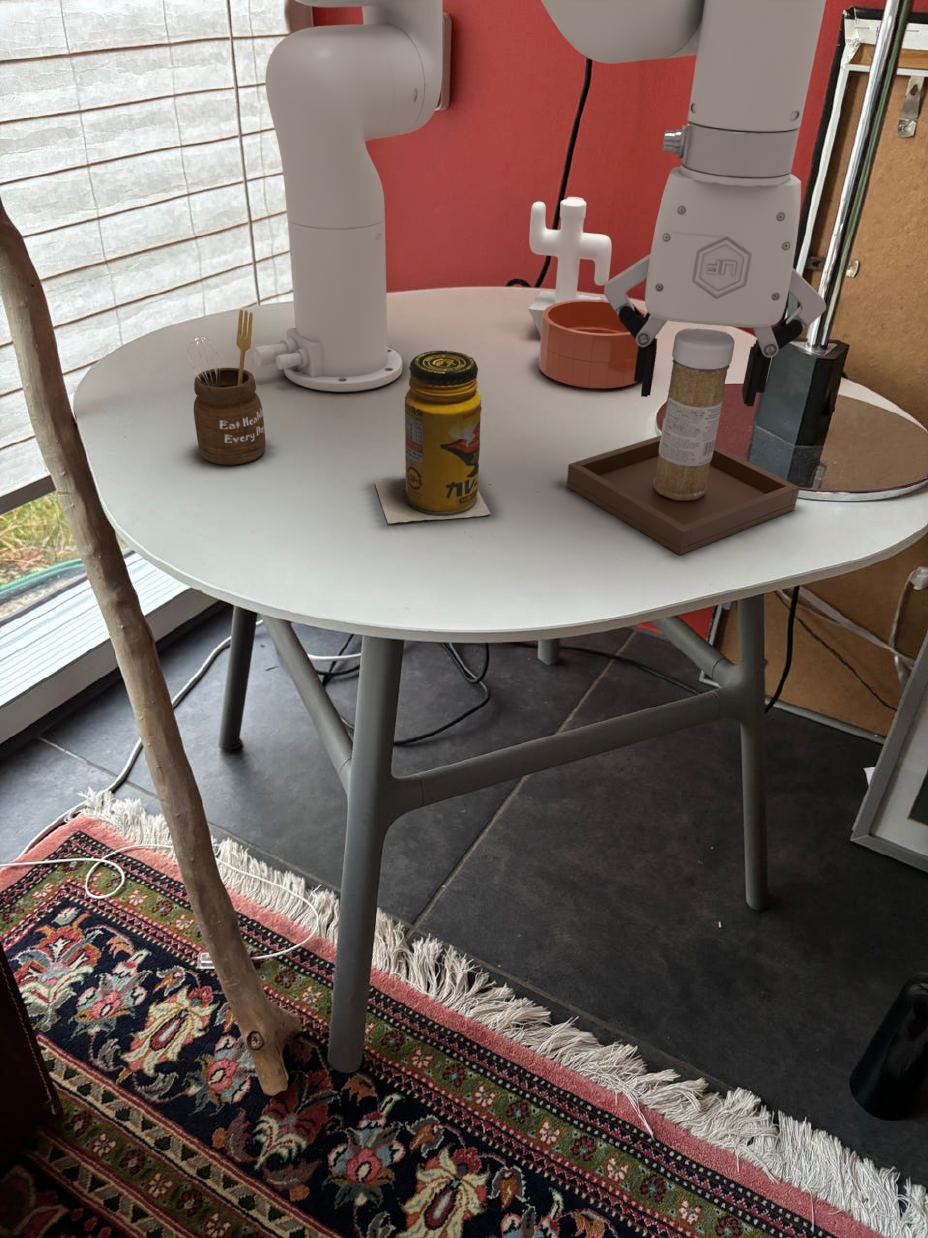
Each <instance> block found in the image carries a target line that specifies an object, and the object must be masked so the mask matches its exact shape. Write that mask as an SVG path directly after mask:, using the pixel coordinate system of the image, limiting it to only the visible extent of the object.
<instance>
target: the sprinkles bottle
mask: <svg viewBox="0 0 928 1238" xmlns="http://www.w3.org/2000/svg"><path fill="white" fill-rule="evenodd" d="M735 343H736V342H735V339H734V337H733V336H732V335H731V334H730V333H728V332H726V331H723V330H720V329H717V328H712V327H701V326H695V327H687V328H683V329H681V330H679V331H677V332H676V333H675V336H674V340H673V347H672V353H671V356H672V369H671V373H670V374H671V375H670V383H669V387H668V392H667V393H668V394H667V398H666V404H665V405H666V406H665V411H664V416H663V420H662V427H661V433H660V434H661V435H660V436H661V439H660V445H659V458H658V464H657V470H656V477H655V479H654V481H653V486H654V489H655V490H656V491H657V492H658V493H659V494H661V495H662V496H664V497H667V498H669V499H672V500H677V501H691V500H696V499H699V498H701V497H702V496H703V495H704V494H705V493H706V490H707V485H706V482H707V477H708V472H709V466H710V461H711V459H712V455H713V450H714V445H715V444H716V439H717V434H718V429H719V424H720V418H721V413H722V409H723V408H722V407H723V403H724V400H723V398H724V392H725V386H726V379H727V376H728V375H727V374H728V370H729V369H730V367H731V363H732V361H733V355H734V350H735ZM715 446H716V445H715Z"/></svg>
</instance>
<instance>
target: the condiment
mask: <svg viewBox="0 0 928 1238" xmlns="http://www.w3.org/2000/svg"><path fill="white" fill-rule="evenodd" d="M408 368H409V369H408V370H409V378H408V379H409V380H408V386H409V389H408V390H407V391H406V394H405V396H404V453H405V456H404V458H405V461H404V463H405V467H404V468H405V478H404V477H403V478H382V479H374V480H373V481H374V484H375V488H376V490H377V494H378V498H379V501H380V504H381V508H382V510H383V513H384V517H385V518H386V522H387V524H396V523H408V522H413V521H414V522H420V521H425V520H427V521H431V520H451V519H462V518H473V517H482V516H489V515H491V514H492V513H491V512H490V510H489V508H488V506H487V503H486V502H485V500H484V499H483V497H482V495H481V493H480V491H479V473H480V449H481V447H480V446H481V416H482V415H481V413H482V409H483V407H482V398H481V395H480V392H479V391H478V390H477V389H478V386H479V383H478V372H479V367H478V365H477V362H476V360H475V359H474V357H472V356H469V355H468V354H465V353H462V352H457V351H454V350H431V351H425V352H422V353H420V354H418V355H417V356H416V355H415V357H413V359H412V360H411V361H410V363H409V366H408Z"/></svg>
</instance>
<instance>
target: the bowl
mask: <svg viewBox="0 0 928 1238" xmlns="http://www.w3.org/2000/svg"><path fill="white" fill-rule="evenodd" d="M635 307H636V306H635ZM636 308H637V309H638V311H639V312H640V313H641V314H642V315H643V316H644V315H645V314H646V312H647V311H646V310H644V309H642V308H639V307H638V306H637V307H636ZM637 351H638V344H637V343H636V339H635V338H634V337H633V336H632V335H631V333H630V332H629V331H628V330H627V329H626V327H625V326H624V325H623V324H622V323H621V321H620V320H619V317H618V315H617V313H616V312H615V311H614V309H613V308H612V306H611V304H610V303H609V301H608V300H606V299H605V300H604V299H599V300H586V299H585V300H570V301H565V302H560V303H556V304H553V305H551V306H549V307H547V308H546V309H545V310H544V311H543V313H542V325H541V336H540V340H539V355H538V366H539V367H538V368H539V370H540V371H541V372H542V374H544V375H545V376H546V377H548V378H551V379H553V380H554V381H557V382H560V383H562V384H565V385H569V386H572V387H576V388H583V389H591V390H592V389H594V390H606V389H616V388H622V387H626V386H629V385H633V384H636V383H637V382H634V374H635V366H636V359H637Z"/></svg>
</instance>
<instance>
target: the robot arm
mask: <svg viewBox="0 0 928 1238" xmlns="http://www.w3.org/2000/svg"><path fill="white" fill-rule="evenodd" d="M294 1H295V2H297V3H299V4H301V5H305V6H309V7H315V8H358V7H359V8H361V9H362V21H363V23H362V24H356V23H355V24H353V23H352V24H349V23H348V24H335V25H321V26H320V25H318V26H312V27H306V28H302V29H300V30H296V31H294V32H292V33H290V34H288V35H287V36H285V37H284V38H283V39H281V40H280V41H279V43H277V44H276V46H275V47H274V49H273V50H272V52H271V54H270V56H269V58H268V61H267V64H266V68H265V81H264V82H265V92H266V99H267V104H268V108H269V112H270V116H271V120H272V123H273V129H274V132H275V136H276V141H277V145H278V149H279V155H280V161H281V168H282V176H283V185H284V197H285V208H286V218H287V230H288V232H287V233H288V245H289V258H290V273H291V285H292V299H293V311H294V324H295V325H294V326H295V327H292V328H287V329H286V338H282V339H281V340H280V341H279V343H276V344H266V345H260V346H256V347H253V349H252V358H253V361H254V364H255V365H256V366H257V367H264V366H268V365H273V364H275V365H276V367H277V369H278V370H283V372H284V375H285V376H286V377H287V378H288V380H289V381H291V382H293V383H294V384H295V385H296V384H297V385H299V386H302V387H304V388H306V389H311V390H317V391H323V392H333V393H334V392H335V393H339V392H340V393H346V392H347V393H349V392H350V393H351V392H360V391H367V390H371V389H377V388H379V387H383V386H385V385H388V384H390V383H392V382H394V381H395V380H396V379H398V378H399V377H400V376H401V374H402V373H403V368H404V367H403V358H402V356H401V354H399V352H397V351H395V350H394V349H392V348H390V347H389V346H388V306H387V305H388V302H387V297H388V296H387V256H386V255H387V253H386V251H387V250H386V249H387V247H386V211H385V210H386V204H385V193H384V188H383V184H382V180H381V178H380V175H379V173H378V170H377V168H376V166H375V163H374V162H373V160H372V158H371V156H370V154H369V150H368V148H367V145H366V142H370V141H373V140H377V139H384V138H385V139H386V138H390V137H391V138H392V137H396V136H402V135H406V134H410V133H413V132H415V131H418V130H419V129H421V128H423V127H424V126H425V125H426V124H427V123H428V122H429V121H430V120H431V119H432V117H433V115H434V114H435V112H436V109H437V107H438V104H439V102H440V97H441V91H442V84H443V60H444V59H443V57H444V56H443V46H444V45H443V43H444V42H443V39H444V38H443V37H444V36H443V35H444V34H443V31H444V30H443V26H444V25H443V15H444V14H443V10H444V9H443V7H444V5H443V0H294ZM540 1H541V4H542V5H543V7H544V9H545V10H546V12H547V13H548V15H549V17H550V19H551V20H552V22H553V23H554V25H555V26H556V28H557V30H558V31H559V33H560V34H561V35H562V36H563V37H564V39H565V40H566V41H567V42H568V43H569V45H570V46H572V47H573V48H574V49H575V50H576V51H577V52H578V53H580V54H581V55H583V56H584V57H585V58H587V59H589V60H592V61H594V62H598V63H601V64H611V65H613V64H614V65H615V64H625V63H632V62H640V61H641V62H642V61H649V60H651V61H653V60H666V59H674V58H682V57H690V56H691V57H692V56H696V58H695V65H694V72H693V77H692V79H693V80H692V86H691V93H690V99H689V107H688V113H687V119H686V125H685V124H683V125H681V128H676V129H675V130H669V129H667V130H666V129H665V130H664V135H663V142H662V143H663V144H662V152H666V153H667V152H669V153H672V155H677V157H678V158H677V159H681V163H680V166H675V167H673V168H671V171H670V172H669V175H668V177H667V180H666V184H665V186H664V189H663V193H662V197H661V201H660V206H659V210H658V213H657V218H656V221H655V226H654V231H653V232H654V233H653V237H652V242H651V247H650V248H651V249H650V253H649V254H647V255H646V256H644V257H643V258H641V259H639V260H638V261H637V262H635V263H633V264H631V265H630V266H629V267H627V268H626V269H625V270H623V271H621V272H620V273H618V274H616V275H615V276H614V277H612V278H611V279H608V281H607V282H606V284H605V285H604V286H603V294H604V296H605V298H606V301H609V303H610V304H611V306H612V308H613V309H614V311H615V312H616V313H617V315H618V317H619V320H620V321H621V323H622V324H623V325H624V326H625V327H626V329H627V330H628V331H629V332H630V333H631V335H632V336H633V337H634V338H635V339H636V343H637V344H638V351H637V359H636V366H635V374H634V382H636V383H641V390H640V397H641V398H642V397H643V398H648V397H649V396H651V393H652V386H653V379H654V372H655V365H656V358H657V351H658V338H656V336H657V335H658V334H659V333H660V331H661V330H662V329H663V327H664V326H665V325H666V324H667V322H674V323H675V322H676V323H686V324H697V325H707V326H708V325H710V326H721V327H722V326H723V327H732V328H734V327H735V328H749V329H753V332H754V334H755V338H756V339H755V343H753V346H750V348H749V353H748V359H747V363H746V367H745V368H746V369H745V374H744V378H743V384H742V387H741V388H742V389H741V394H742V400H743V405H745V406H746V407H750V408H751V407H755V401H756V396H757V393H759V394H764V393H765V391H766V385H767V382H768V377H769V372H770V368H771V364H772V363H771V362H772V358H774V357H776V356H777V355H778V353H779V351H780V350H781V349H783V348H784V347H786V346H787V345H788V344H790V343H791V342H792V341H794V340H796V339H797V338H798V337H800V336H801V335H802V333H803V331H804V330H806V328H808V327H809V326H811V325H812V324H813V323H814V322H815V321H816V320H818V318H820V316H821V315H823V314H824V313H825V312H826V310H827V304H826V302H825V301H826V300H825V299H824V298H823V296H822V295H821V294H820V293H818V291H817V290H816V289H815V288H814V287H813V286H812V285H811V284H810V283H809V282H808V281H807V280H806V279H804V278H805V277H803V276H802V275H801V274H800V273H799V272H798V271H797V270H796V269H795V268H794V261H795V256H796V249H797V242H798V233H799V227H800V226H799V225H800V216H801V201H802V198H801V197H802V181H801V180H800V179H799V178H798V177H797V176H795V175H794V174H792V169H793V164H794V159H795V154H796V150H797V145H798V141H799V140H798V139H799V135H800V130H801V126H802V121H803V120H802V119H803V115H804V109H805V107H806V100H807V96H808V95H807V94H808V91H809V87H810V82H811V81H810V80H811V76H812V72H813V67H814V61H815V56H816V51H817V47H818V42H819V37H820V32H821V27H822V23H823V22H822V21H823V19H824V12H825V8H826V2H827V0H540ZM644 281H645V289H644V290H645V291H644V304H645V309H646V311H645V312H646V314H645V315H644V316H643V315H642V314H641V313H640V312H639V311H638V309H637V308H638V307H637V308H636V306H635V304H634V303H633V302H632V301H631V300H630V297H629V295H628V292H629V291H630V290H632V289H634V288H635V287H637V286H638V285H640V284H641V283H643V282H644ZM789 294H790V295H791V296H792V297H793V298H794V299H795V300H796V301H797V303H799V306H798V308H797V309H796V310H795V311H794V312H793V313H792V314H790V315H788V316H787V317H786V318H784V319H783V320H781V319H782V318H783V315H784V313H785V309H786V305H787V301H788V295H789ZM773 325H774V326H773Z"/></svg>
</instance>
